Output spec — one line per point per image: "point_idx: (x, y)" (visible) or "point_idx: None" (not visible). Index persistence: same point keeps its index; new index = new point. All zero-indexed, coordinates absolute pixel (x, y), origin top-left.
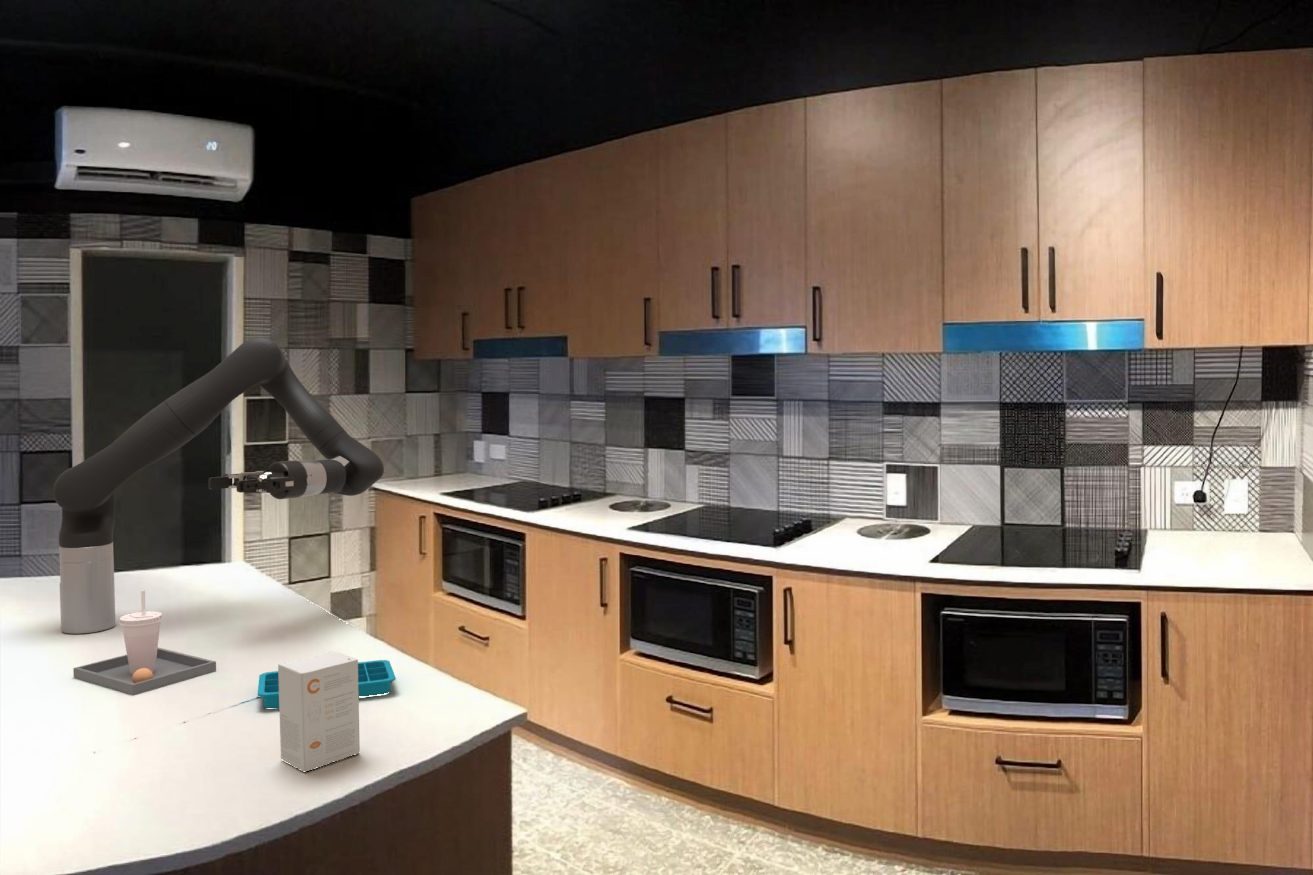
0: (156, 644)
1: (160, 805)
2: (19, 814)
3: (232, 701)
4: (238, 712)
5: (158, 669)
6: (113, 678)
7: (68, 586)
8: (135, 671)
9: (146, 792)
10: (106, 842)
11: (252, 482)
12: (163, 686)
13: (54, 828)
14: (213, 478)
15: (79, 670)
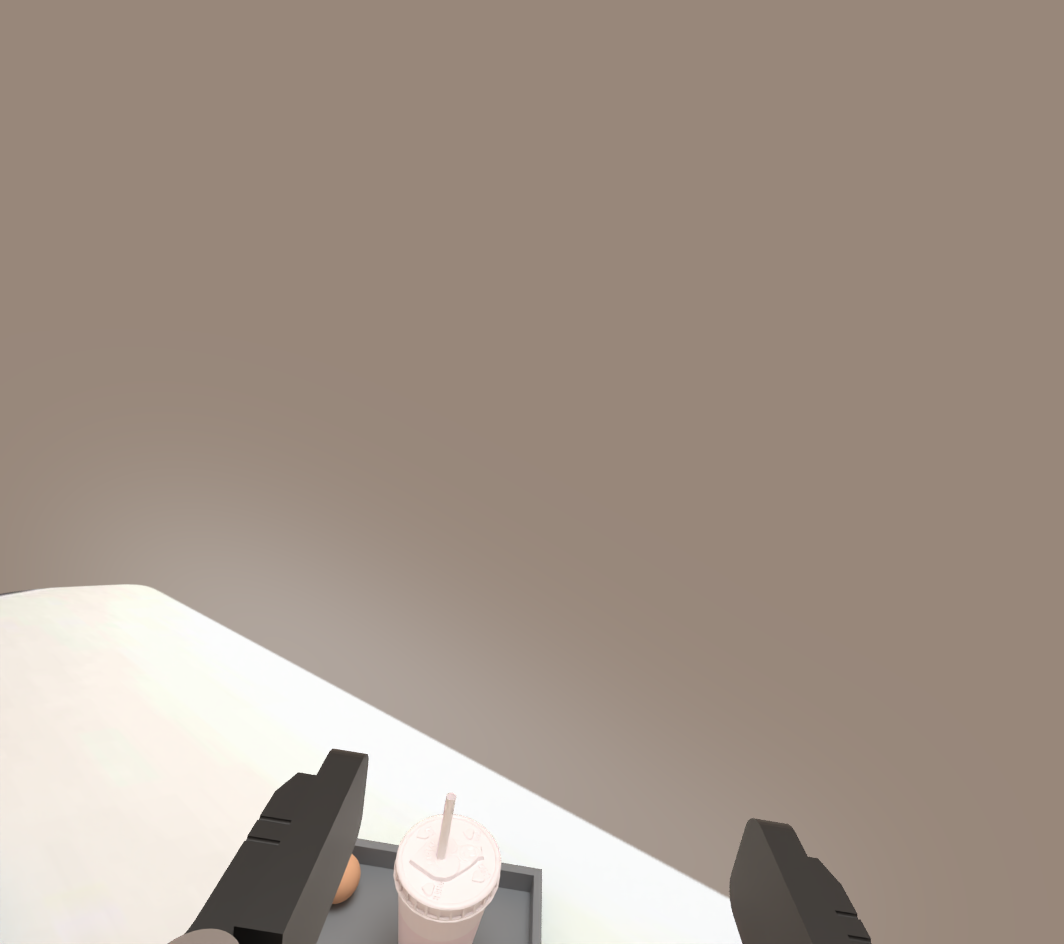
0: (400, 939)
1: (40, 638)
2: (197, 617)
3: (44, 910)
4: (5, 860)
5: None
6: (395, 848)
7: None
8: (353, 857)
9: (74, 651)
10: (72, 602)
11: (238, 852)
12: None
13: (142, 608)
14: (764, 841)
15: (517, 866)
